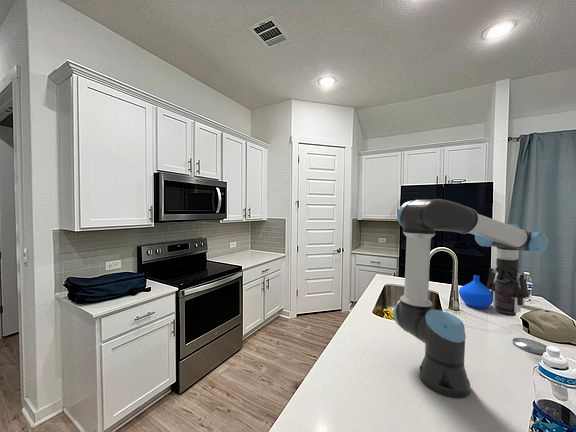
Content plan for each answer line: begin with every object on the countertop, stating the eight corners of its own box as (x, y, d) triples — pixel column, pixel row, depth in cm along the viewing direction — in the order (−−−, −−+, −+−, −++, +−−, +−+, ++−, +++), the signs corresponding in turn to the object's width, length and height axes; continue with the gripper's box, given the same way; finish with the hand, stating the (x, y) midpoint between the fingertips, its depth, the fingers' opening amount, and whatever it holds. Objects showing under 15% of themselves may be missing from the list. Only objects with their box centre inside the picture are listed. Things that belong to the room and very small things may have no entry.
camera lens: (523, 317, 107) (523, 283, 107) (501, 316, 109) (502, 282, 109) (510, 310, 115) (510, 278, 115) (490, 309, 117) (491, 277, 117)
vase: (462, 298, 172) (463, 271, 172) (496, 306, 159) (497, 276, 158) (455, 305, 160) (455, 275, 159) (491, 313, 146) (492, 281, 146)
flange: (539, 357, 103) (539, 353, 103) (506, 342, 114) (506, 339, 114) (557, 352, 106) (557, 349, 106) (523, 338, 118) (523, 335, 118)
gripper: (542, 262, 103) (540, 316, 103) (488, 254, 123) (487, 299, 123) (530, 263, 101) (529, 318, 101) (477, 254, 120) (476, 301, 121)
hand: (506, 308), depth 112 cm, fingers closed on camera lens, 8 cm apart
